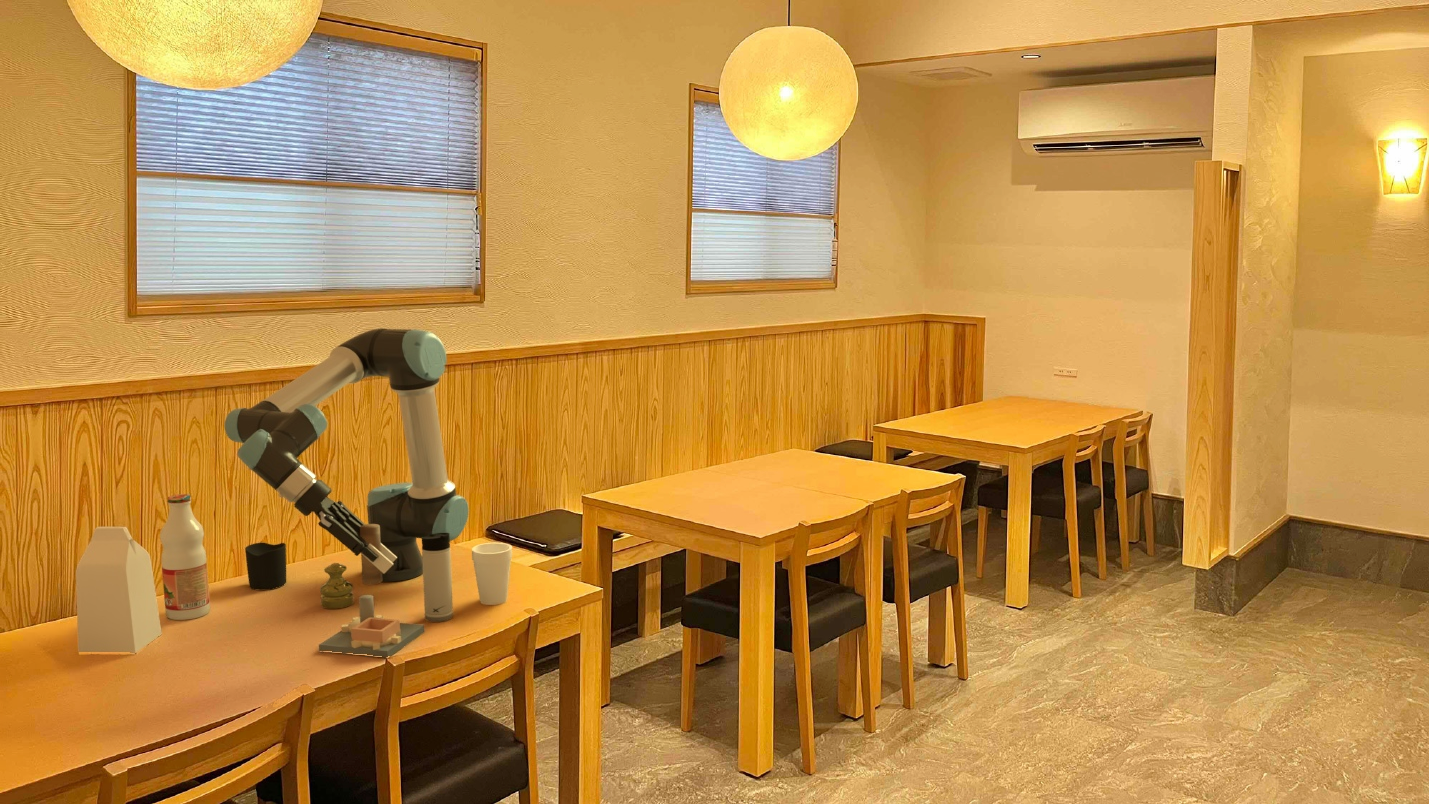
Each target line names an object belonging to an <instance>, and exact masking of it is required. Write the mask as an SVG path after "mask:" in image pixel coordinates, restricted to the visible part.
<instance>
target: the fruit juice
mask: <svg viewBox="0 0 1429 804" xmlns="http://www.w3.org/2000/svg"><path fill="white" fill-rule="evenodd" d="M191 503H192V496H191V494H188V493H187V494H185V493H181V494H180V493H179V494H173V495H170V496H169V495H168V496H167V504H168V506H169V512H168V516H167V519H166V522H165V523H164V525H163V526H161V527H162V528H161V529H160V531H159V532H160V533H159V538H160V542H161V545H162V553H161V556H160V557H161V558H160V559H161V562H160V563H161V572H162V573H161V574H162V585H163V600H164V609H165V616H166V617H167V618H168V619H169V620H173V621H187V620H193V619H197V618H201V617H203V616H205V615H207V614H208V613H210V610H211V603H210V602H211V600H210V590H209V589H210V588H209V577H208V576H209V574H208V563H207V562H208V561H207V560H208V559H207V552H206V548H205V547H204V545H203V542H204V536H205V532H204V526H203V525H202V524H201V523H200V521H198V519H197V518H196V517H195V515H194V513H193V510H192V507H191Z"/></svg>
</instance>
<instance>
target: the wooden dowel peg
mask: <svg viewBox="0 0 1429 804" xmlns="http://www.w3.org/2000/svg"><path fill="white" fill-rule="evenodd" d="M360 536H361V537H362V538H363V539H364V540H365V541H366V542H367V544H368V545H369V544H372V545H373V546H374V547H375V548H376V549H377V550H379V551H380V552H381V541H380V525H378V524H366V525H362V526H360ZM360 555H361V557H360V559H361V573H362V574H361V575H362V584H363V585H369V586H370V585H371V586H373V585H377V584H378V585H379V584H380V583H382V572H381V571H380V570H379V569H378V568H377V567H376V566H374V565H373V564H372V563H371V562H370V561H369V560H367V559H366V558H365V557H364V556H363V555H362V554H361V553H360Z"/></svg>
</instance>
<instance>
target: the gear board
mask: <svg viewBox="0 0 1429 804" xmlns="http://www.w3.org/2000/svg"><path fill="white" fill-rule="evenodd" d="M358 606H359V616H356V617H352V618H351V622H349V623H347V624H341V627H340V628H341V630H340V631H338V632H337V633H335V634H334V635H332V636H330V637H329V638H327V639H326V640H324V641H322V642H320V643H319V644H318V652H319V651H332V652H342V653H353V654H367V655H373V656H382V657H388V656H391V657H393V655H395V654H396V653H398V652H399V651H400V650H402V649H403V648H404V646H405V647H406V646H408V645H409V644H410V643H411V642H413V641H415V639H417V638H418V637H420V636H421V635H422V634H424V633H425V632H426V631H425V630H426V629H425V624H419V623H407V622H400V619H392V618H384V615H382V614H376V615H375V605H374V595H372V594H363V595H360V596H359V597H358ZM397 651H398V652H397Z"/></svg>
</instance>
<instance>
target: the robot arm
mask: <svg viewBox="0 0 1429 804" xmlns="http://www.w3.org/2000/svg"><path fill="white" fill-rule="evenodd" d="M446 365H447V351H446V348H445V345H444V343H443V341H441V339H440V338H439V337H438V336H437V335H436V334H435V333H433V332H432V331H429V330H420V329H415V328H414V329H407V328H405V329H404V328H401V329H400V328H394V329H393V328H384V327H383V328H381V327H380V328H375V329H371V330H367V331H365V332H362V333H360V334H358V335H356V336H354V337H351V338H350V339H348V340H346V341H344V342H342V343H341V344H340V345H338V346H336V347H334V348H333V349H332V350H331V351H330V354H329V357H328V358H327V357H326V359H324V360H323V361H321V362H320V363H318V364H317V365H315V366H313V367H312V368H310V369H309V370H307V371H306V372H304V373H303V374H301V375H300V376H298V377H296V378H295V379H293V380H292V381H291V382H289V383H288V384H285V385H284V386H283V387H280V389H278V390H276V391H275V392H273V393H271V394H270V395H269V396H267V397H266V398H264V399H263V400H261V401H260V402H258V403H256V404H255V405H253V406H252V407H250V408H247V407H242V408H235V409H232V410H231V411H230V412H229V413H228V414H227V416H226V417H225V420H224V432H225V434H226V436H227V438H228V439H229V440H231V441H233V442H234V443H235V442H236V443H241V444H242V445H240V447H239V448H238V450H237V453H236V455H237V456H238V459H240V460H241V462H242V463H243V464H245V466H246V467H247V468H248V469H249V470H250V471H252V472H253V473H255V474H256V475H257V476H258V477H260V479H262V480H263V481H264V482H265V483H266V484H268V485H269V486H270V487H271V488H273V489H274V491H276V492H277V493H278V496H279V498H284V499H286V500H287V502H289V503H292V502H293V503H294V504H293V507H294V508H295V509H296V510H297V511H298V512H300V513H301V514H302V515H304V516H305V517H308V516H309V515H311V514H312V513H314V514H315V515H316V517H317V518H318V519H319V522H318V523H317V524H318V526H319V527H321V528H322V529H324V530H325V531H326V532H328V533H329V534H330V535H332V536H333V537H334V538H335V539H337V540H338V542H340V544H341V543H342V544H343V545H344V546H345V547H346V548H347V549H348V550H350V551H351V552H352V553H353V554H354V555H355V556H356V557H358V556H359V555H361V554H362V555H363V556H364V557H365V558H366V559H367V560H369V561H370V562H371V563H372V564H373V565H374V566H376V567H377V568H378V569H379V570H380V571H381V572H382V582H384V583H387V582H401V581H406V580H411V579H413V578H414V579H415V578H417V577H419V576H421V575H423V562H422V552H421V550H420V548H419V545H418V543H417V539H421V540H422V537H424V536H425V537H426V536H430V534H435V533H449V534H450V542H451V541H454V540H456V539H457V538H458V537H460V536H461V534H462V533H463V532H464V529H465V527H466V525H467V523H468V519H469V512H470V511H469V510H470V509H469V504H468V501H467V499H465V497H463V496H462V495H460V494H457V490H456V484H455V483H454V482H453V481H451V479H449V478H448V472H447V464H446V457H445V452H444V444H443V438H442V431H441V424H440V418H439V412H438V411H439V410H438V403H437V399H436V392H435V391H436V390H435V389H436V388H437V386H438V385H439V384H440V382H441V381H440V378H441V376H442V375H443V374H444V373H445V370H446V367H445V366H446ZM371 377H385V378H388V379H389V387H390V390H391V391H393V392H395V393H396V394H397V395H398V400H399V406H400V412H401V418H402V425H403V431H404V438H405V443H406V444H405V445H406V451H407V457H408V464H409V468H410V475H411V481H412V482H399V483H393V484H392V483H391V484H385V485H381V486H377V487H374V488H372V489H371V490H370V491H369V492H368V493H367V504H366V508H367V509H366V511H367V522H368V524H378V525H380V541H381V552H380V551H379V550H377V549H376V548H375V547H374V546H373V545H372V544H369V545H368V544H367V542H366V541H365V540H364V539H363V538H362V537H361V536H360V526H362V525H366V524H365V522H363V521H362V520H361V518H359V517H358V516H357V515H355V513H353V512H352V510H350V509H349V508H348V507H347V506H346V505H345V504H344V503H343V501H342V500H338V501H335V500H333V499H331V498H329V497H328V496H329V495H330V493H332V488H331V487H330V486H329V485H327V483H325V482H324V481H323V480H322V479H317V474H316V473H314V472H313V470H311V469H310V468H308V467H307V466H306V465H305V464H304V463H302V462H301V461H300V460H299V459H298V458H299V457H300V456H301V455H302V454H303V453H305V451H306V450H307V449H308V448H309V447H310V446H312V445H313V444H314V443H315V442H316V441H318V440H319V438H320V437H321V435H322V434H323V433H324V432H325V431H326V429H327V427H328V420H327V417H326V416H325V414H324V412H323V411H322V410H321V409H320V408H319V407H317V406H318V405H319V404H321V403H322V402H323V401H325V400H326V399H328V398H330V397H331V396H332V395H333V394H335V393H336V392H338V391H340V390H342V388H345V386H347V385H348V384H357V383H358V382H360V381H362V380H363V379H366V378H371ZM382 582H381V583H382Z"/></svg>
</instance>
